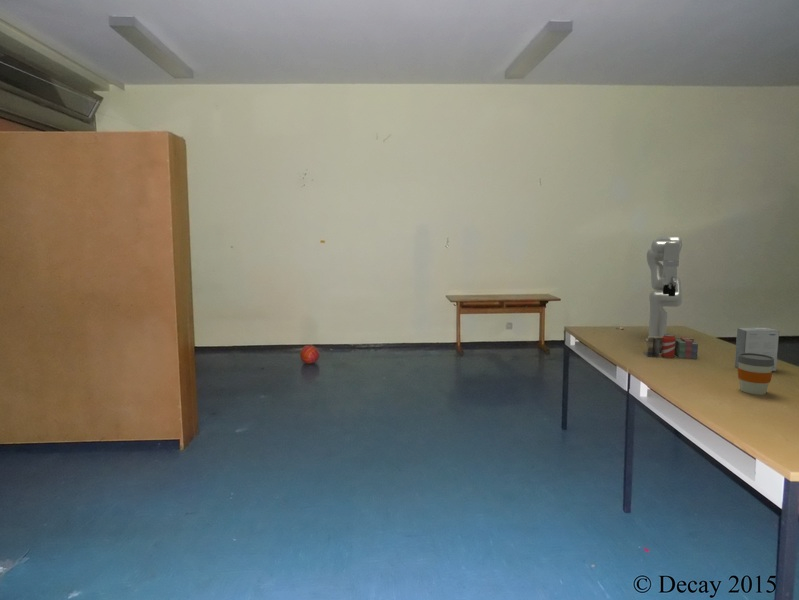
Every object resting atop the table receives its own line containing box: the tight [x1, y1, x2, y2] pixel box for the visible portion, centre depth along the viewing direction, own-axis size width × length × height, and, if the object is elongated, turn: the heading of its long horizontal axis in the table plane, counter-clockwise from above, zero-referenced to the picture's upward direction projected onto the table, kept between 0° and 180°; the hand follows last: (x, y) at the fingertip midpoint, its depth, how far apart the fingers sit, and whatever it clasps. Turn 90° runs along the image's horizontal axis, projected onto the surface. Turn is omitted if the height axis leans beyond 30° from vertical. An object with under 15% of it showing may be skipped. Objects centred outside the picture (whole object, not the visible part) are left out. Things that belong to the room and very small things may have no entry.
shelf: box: [646, 336, 699, 360], centre depth 274 cm, size 11×23×10 cm, turn 78°
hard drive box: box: [734, 327, 780, 372], centre depth 245 cm, size 16×8×20 cm, turn 84°
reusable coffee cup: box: [737, 353, 774, 396], centre depth 210 cm, size 13×13×15 cm
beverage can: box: [661, 333, 677, 359], centre depth 270 cm, size 6×6×12 cm
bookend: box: [642, 337, 660, 358], centre depth 275 cm, size 10×6×9 cm, turn 168°
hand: (668, 295), depth 278 cm, fingers open, 9 cm apart
